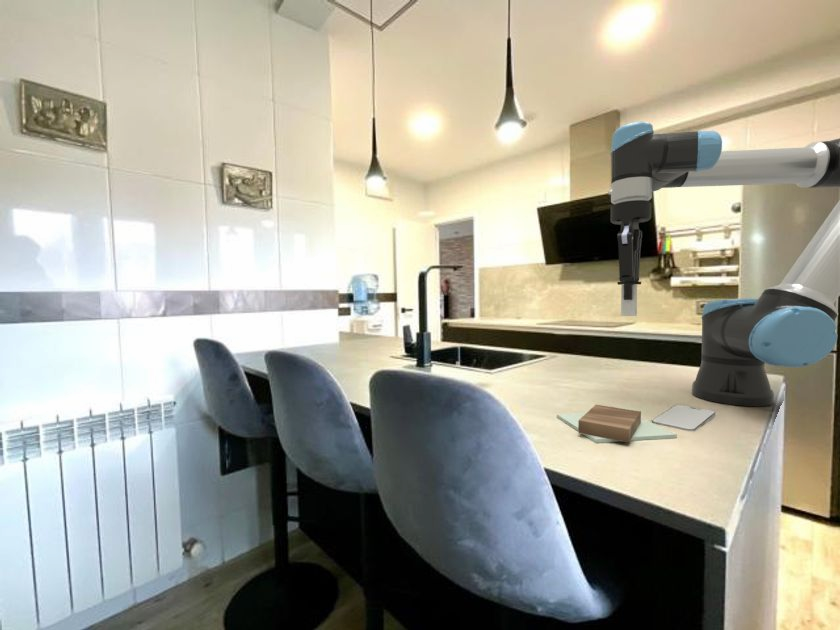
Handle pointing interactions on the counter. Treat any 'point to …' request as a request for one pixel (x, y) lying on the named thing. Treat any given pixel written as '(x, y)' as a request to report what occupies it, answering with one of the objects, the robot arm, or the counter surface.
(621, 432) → the board
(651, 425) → the mat
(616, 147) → the robot arm
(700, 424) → the smartphone
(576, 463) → the counter surface
